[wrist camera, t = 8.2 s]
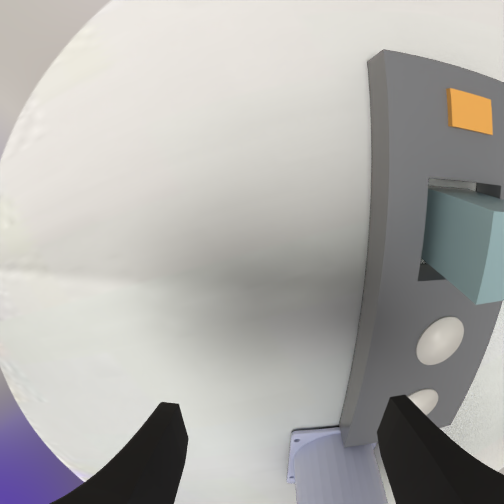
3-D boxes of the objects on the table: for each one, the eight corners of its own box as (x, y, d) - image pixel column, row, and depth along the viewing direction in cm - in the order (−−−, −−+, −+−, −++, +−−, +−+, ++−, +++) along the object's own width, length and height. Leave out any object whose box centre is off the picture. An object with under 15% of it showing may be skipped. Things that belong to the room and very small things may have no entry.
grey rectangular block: (461, 249, 17) (531, 298, 10) (411, 251, 17) (479, 308, 10) (468, 189, 15) (549, 216, 8) (417, 185, 16) (498, 213, 9)
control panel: (440, 406, 21) (452, 427, 19) (339, 425, 22) (344, 451, 19) (497, 92, 13) (525, 89, 10) (367, 61, 13) (386, 47, 11)
